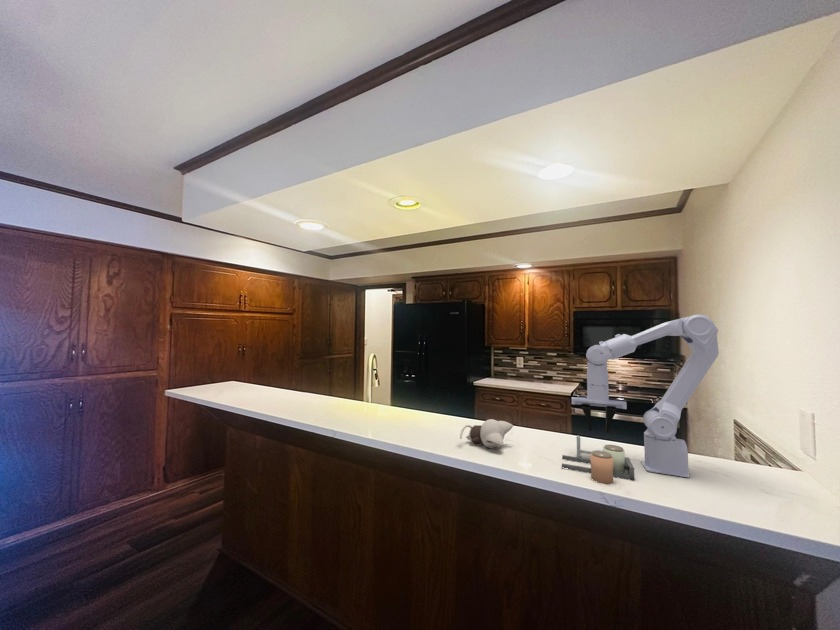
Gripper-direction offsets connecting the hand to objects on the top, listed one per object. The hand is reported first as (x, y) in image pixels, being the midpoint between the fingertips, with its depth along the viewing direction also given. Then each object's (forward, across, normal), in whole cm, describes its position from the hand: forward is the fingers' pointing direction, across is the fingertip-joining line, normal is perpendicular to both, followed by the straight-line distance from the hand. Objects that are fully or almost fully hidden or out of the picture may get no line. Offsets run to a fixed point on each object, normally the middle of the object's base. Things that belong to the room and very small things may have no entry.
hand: (598, 430), depth 98 cm
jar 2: (+8, -3, +8) cm, 12 cm away
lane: (+8, +2, +8) cm, 12 cm away
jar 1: (+8, 0, +16) cm, 18 cm away
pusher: (+8, +3, +5) cm, 10 cm away
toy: (+9, +33, +4) cm, 34 cm away
